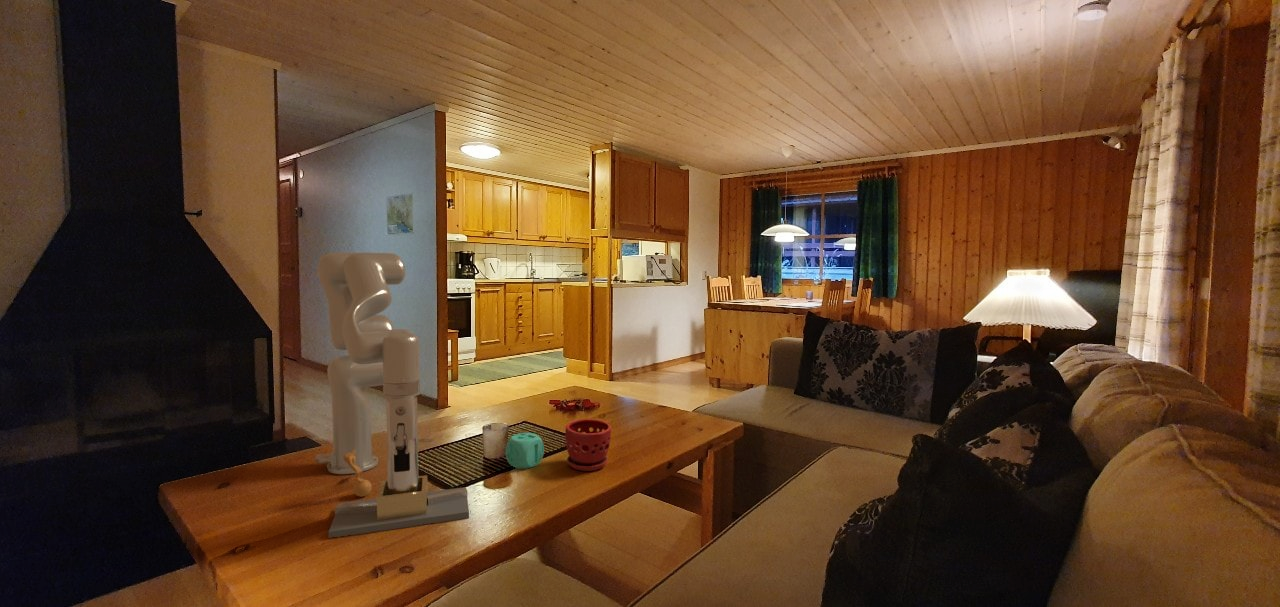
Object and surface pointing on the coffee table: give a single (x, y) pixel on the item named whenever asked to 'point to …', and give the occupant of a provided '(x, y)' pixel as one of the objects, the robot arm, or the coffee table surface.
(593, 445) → the plant pot
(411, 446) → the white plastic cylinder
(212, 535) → the coffee table surface
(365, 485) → the figurine
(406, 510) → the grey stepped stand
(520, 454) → the decorative dice
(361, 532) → the base plate
